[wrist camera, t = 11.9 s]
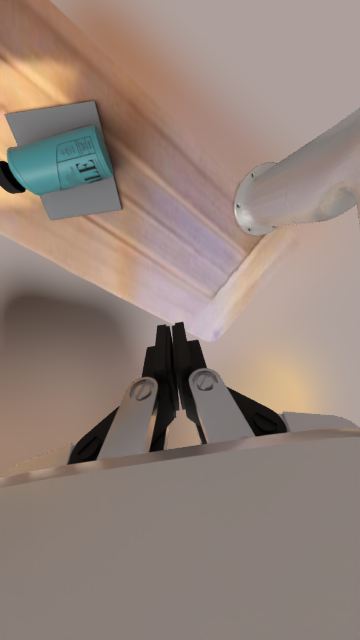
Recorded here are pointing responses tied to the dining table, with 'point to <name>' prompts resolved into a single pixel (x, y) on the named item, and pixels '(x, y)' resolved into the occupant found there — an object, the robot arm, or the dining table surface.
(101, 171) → the beverage bottle
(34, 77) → the dining table surface
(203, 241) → the dining table surface
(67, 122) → the mat
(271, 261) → the dining table surface
